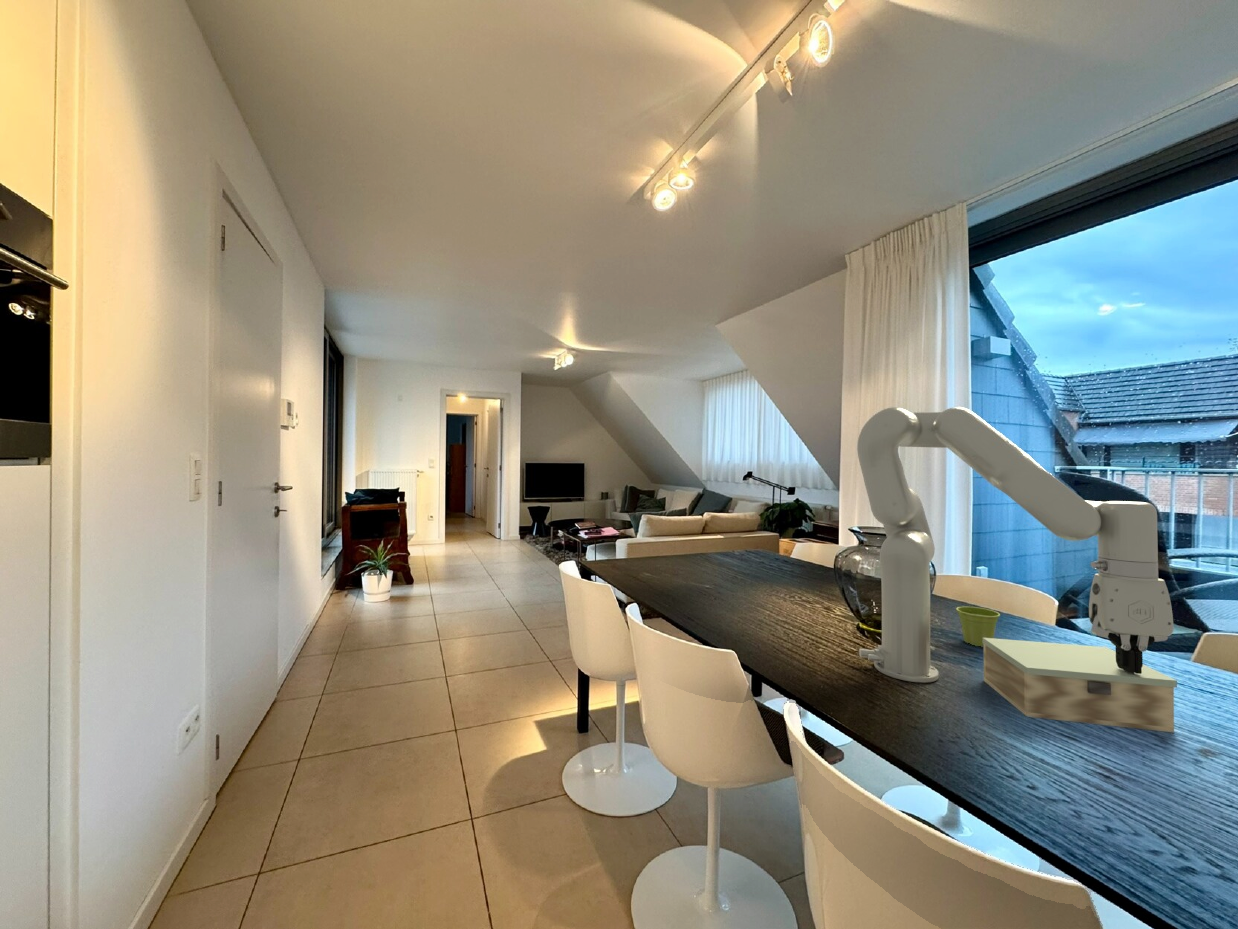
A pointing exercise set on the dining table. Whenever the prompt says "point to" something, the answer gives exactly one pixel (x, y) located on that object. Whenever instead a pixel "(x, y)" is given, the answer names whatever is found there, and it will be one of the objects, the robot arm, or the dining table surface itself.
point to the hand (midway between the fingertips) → (1129, 670)
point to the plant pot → (977, 624)
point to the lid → (1072, 662)
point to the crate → (1081, 697)
